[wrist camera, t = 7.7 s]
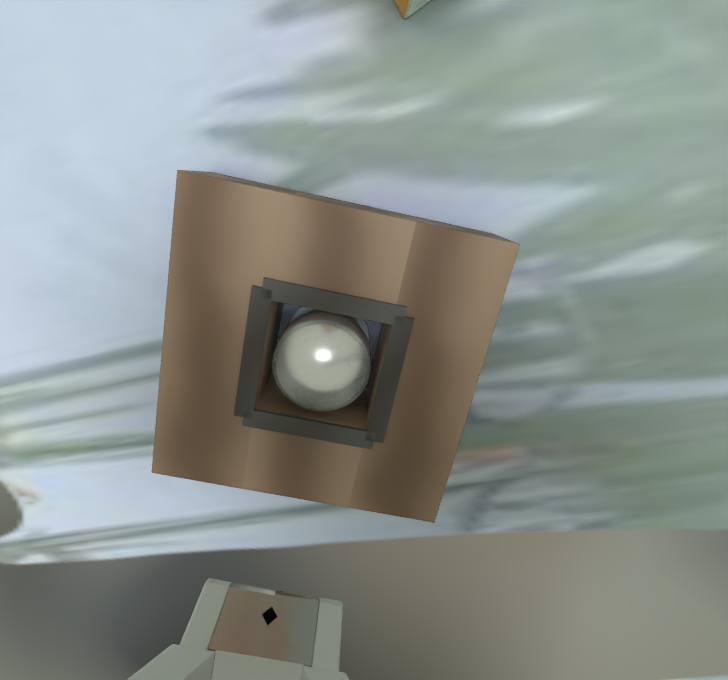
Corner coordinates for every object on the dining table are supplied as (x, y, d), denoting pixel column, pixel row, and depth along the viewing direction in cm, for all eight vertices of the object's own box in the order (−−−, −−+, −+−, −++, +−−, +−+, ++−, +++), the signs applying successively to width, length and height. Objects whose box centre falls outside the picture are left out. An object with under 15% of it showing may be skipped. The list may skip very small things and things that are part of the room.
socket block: (492, 233, 27) (520, 244, 22) (424, 472, 32) (434, 524, 27) (211, 172, 26) (175, 170, 21) (184, 428, 31) (150, 474, 26)
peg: (377, 308, 28) (379, 331, 24) (360, 385, 30) (359, 420, 25) (293, 291, 28) (279, 311, 24) (280, 369, 29) (265, 402, 25)
